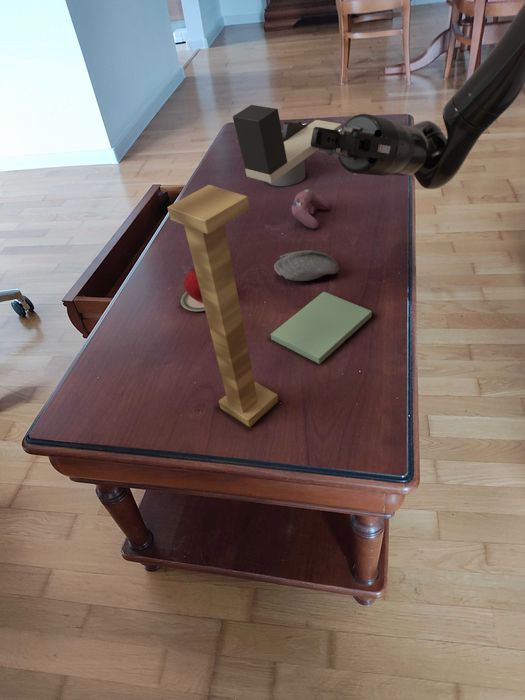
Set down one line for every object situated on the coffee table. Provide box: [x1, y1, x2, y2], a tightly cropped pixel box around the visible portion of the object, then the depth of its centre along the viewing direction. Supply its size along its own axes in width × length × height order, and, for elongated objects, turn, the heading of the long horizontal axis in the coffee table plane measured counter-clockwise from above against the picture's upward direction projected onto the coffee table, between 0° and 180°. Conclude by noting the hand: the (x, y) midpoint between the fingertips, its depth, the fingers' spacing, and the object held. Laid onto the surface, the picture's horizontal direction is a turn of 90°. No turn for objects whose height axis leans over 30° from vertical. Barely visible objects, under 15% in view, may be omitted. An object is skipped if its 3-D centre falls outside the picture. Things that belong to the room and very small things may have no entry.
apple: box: [180, 268, 205, 312], centre depth 92 cm, size 8×8×6 cm
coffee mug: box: [267, 129, 306, 187], centre depth 128 cm, size 13×10×10 cm
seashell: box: [273, 249, 340, 282], centre depth 95 cm, size 12×8×5 cm
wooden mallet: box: [232, 104, 343, 184], centre depth 59 cm, size 4×13×7 cm, turn 136°
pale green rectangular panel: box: [270, 291, 373, 365], centre depth 84 cm, size 10×14×1 cm
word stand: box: [167, 184, 279, 428], centre depth 63 cm, size 6×6×32 cm
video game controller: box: [291, 188, 329, 230], centre depth 111 cm, size 10×5×7 cm, turn 161°
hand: (299, 134), depth 60 cm, fingers closed on wooden mallet, 4 cm apart
